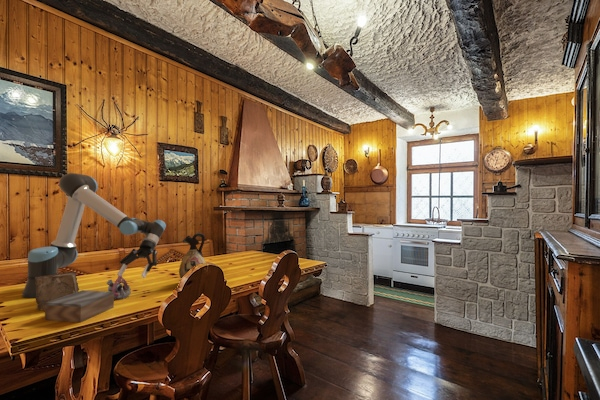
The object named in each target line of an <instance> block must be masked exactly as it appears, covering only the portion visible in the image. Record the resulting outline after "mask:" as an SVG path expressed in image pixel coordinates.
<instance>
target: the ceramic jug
mask: <svg viewBox="0 0 600 400" xmlns="http://www.w3.org/2000/svg"><path fill="white" fill-rule="evenodd" d="M197 237H199V238H201V243H200V242H199V240H198V239H197ZM205 240H206V238H205V234H203V233H201V232H197V233H196V232H195V234H193V236H192V237H191V236H190V235H187V236H186V237H184V238H183V239H182V242H183V243H186V244H189V246H190V247H189V250H187V252H186V254H185V255H184V257H183V258H182V260H181V261H180V265H179V269H178V270H179V271H178V274H179V277H180V279H181V278H182V277H183V276H184V275H185V274H186V273H187V272H188V271H189V270H190V269H192V268H193V267H194V266H196V265H199V264H203V263H206V261H205V258H204V255H203V251H202V250H203V247H204V244H205ZM198 244H200V245H199V247H197V245H198ZM206 264H207V263H206Z"/></svg>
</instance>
